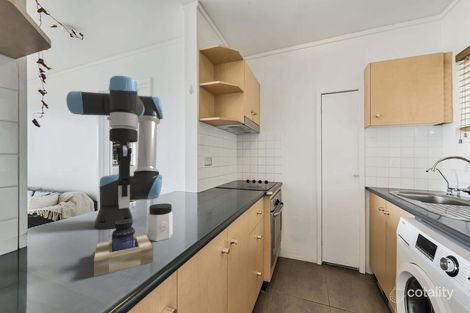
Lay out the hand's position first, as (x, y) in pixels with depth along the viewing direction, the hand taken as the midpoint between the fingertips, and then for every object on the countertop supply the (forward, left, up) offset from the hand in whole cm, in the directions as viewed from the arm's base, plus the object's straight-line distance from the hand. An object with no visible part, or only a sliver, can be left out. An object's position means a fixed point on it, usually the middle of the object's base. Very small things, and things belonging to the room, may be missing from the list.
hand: (123, 205), depth 61 cm
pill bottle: (0, 0, -16) cm, 16 cm away
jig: (-1, 0, -16) cm, 16 cm away
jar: (-12, +13, -16) cm, 24 cm away
